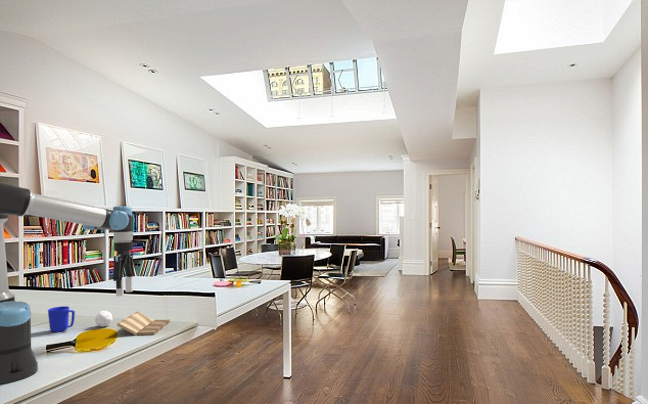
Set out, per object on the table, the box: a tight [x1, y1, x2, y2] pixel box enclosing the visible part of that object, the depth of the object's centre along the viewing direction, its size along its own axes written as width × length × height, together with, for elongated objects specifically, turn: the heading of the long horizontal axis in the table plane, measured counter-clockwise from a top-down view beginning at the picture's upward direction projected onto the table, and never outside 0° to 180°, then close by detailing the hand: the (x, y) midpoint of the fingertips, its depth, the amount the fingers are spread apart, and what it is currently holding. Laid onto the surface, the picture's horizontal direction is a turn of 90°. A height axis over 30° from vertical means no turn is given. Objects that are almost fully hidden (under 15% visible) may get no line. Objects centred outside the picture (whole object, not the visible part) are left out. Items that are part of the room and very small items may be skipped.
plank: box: [116, 310, 155, 336], centre depth 193 cm, size 20×9×1 cm, turn 1°
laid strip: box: [136, 319, 171, 336], centre depth 193 cm, size 20×8×1 cm, turn 1°
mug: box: [47, 305, 76, 333], centre depth 194 cm, size 8×12×10 cm
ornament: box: [94, 310, 113, 328], centre depth 199 cm, size 7×7×8 cm
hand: (124, 293), depth 186 cm, fingers open, 8 cm apart
